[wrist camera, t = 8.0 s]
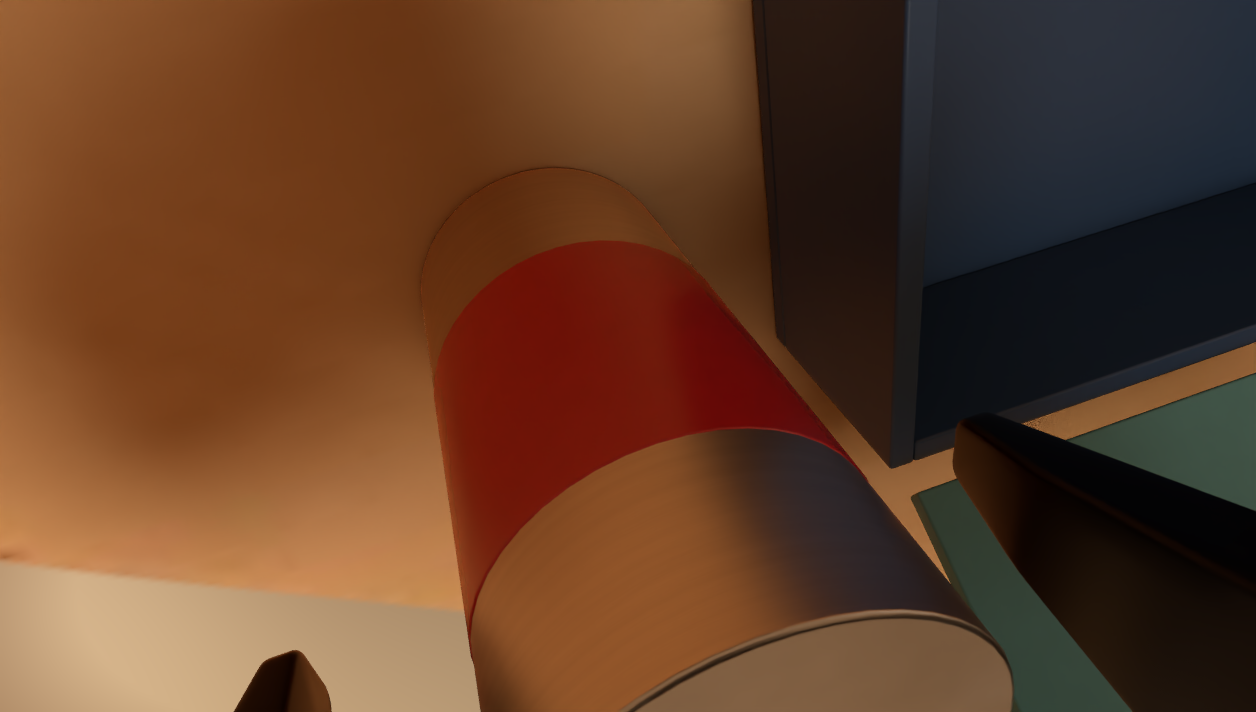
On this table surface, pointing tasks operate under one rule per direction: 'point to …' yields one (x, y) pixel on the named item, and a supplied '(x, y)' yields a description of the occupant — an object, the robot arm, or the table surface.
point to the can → (660, 487)
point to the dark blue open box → (1005, 200)
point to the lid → (1005, 603)
